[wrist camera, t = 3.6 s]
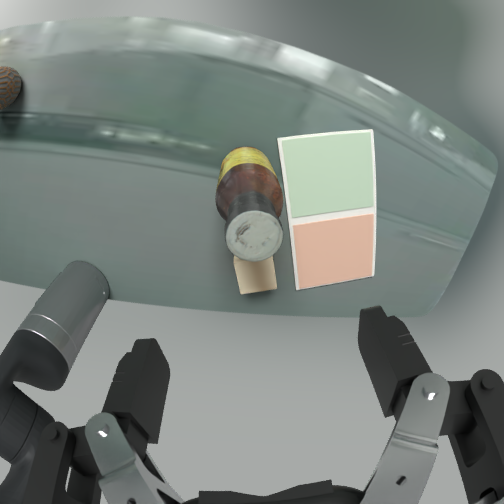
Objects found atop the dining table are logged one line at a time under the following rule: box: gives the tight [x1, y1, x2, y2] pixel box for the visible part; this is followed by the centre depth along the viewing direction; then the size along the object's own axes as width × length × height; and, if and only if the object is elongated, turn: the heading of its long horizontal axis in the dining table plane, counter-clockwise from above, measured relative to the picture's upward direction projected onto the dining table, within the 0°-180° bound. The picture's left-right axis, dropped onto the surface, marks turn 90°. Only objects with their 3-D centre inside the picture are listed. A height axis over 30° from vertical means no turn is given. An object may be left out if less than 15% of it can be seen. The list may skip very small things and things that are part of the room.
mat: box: [277, 129, 376, 290], centre depth 41 cm, size 13×23×1 cm, turn 9°
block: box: [234, 255, 277, 294], centre depth 42 cm, size 5×5×5 cm
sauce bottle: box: [216, 147, 283, 262], centre depth 29 cm, size 6×6×20 cm
